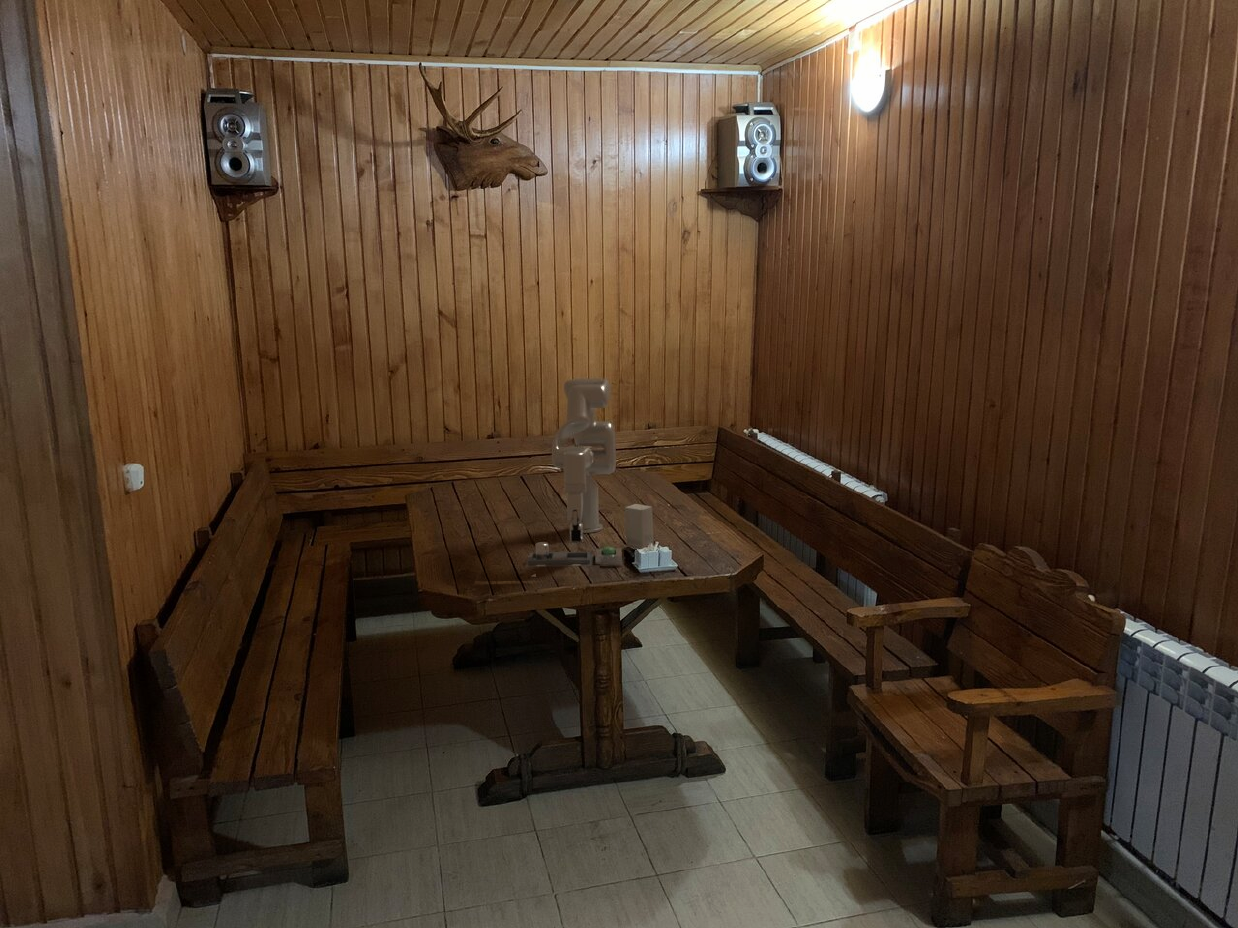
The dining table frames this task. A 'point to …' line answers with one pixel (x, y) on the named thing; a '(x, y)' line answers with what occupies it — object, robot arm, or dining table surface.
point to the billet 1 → (542, 550)
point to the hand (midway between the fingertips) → (576, 538)
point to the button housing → (609, 558)
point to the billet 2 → (581, 532)
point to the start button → (608, 551)
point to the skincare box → (638, 525)
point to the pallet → (561, 559)
